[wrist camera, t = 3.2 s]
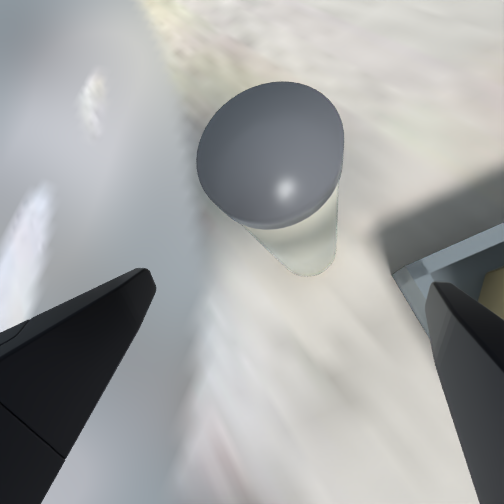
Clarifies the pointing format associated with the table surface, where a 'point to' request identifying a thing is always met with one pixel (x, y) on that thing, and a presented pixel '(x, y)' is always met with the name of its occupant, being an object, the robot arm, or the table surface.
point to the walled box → (459, 272)
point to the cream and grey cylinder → (278, 170)
